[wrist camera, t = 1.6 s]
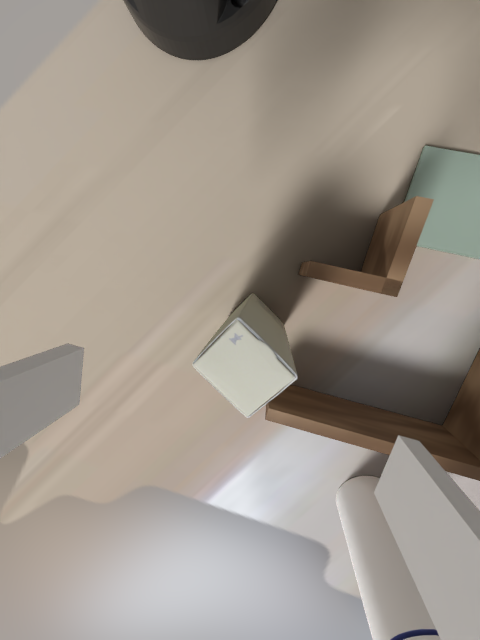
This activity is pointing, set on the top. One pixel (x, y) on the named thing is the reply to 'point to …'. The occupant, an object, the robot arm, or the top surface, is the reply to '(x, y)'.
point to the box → (248, 357)
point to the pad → (449, 200)
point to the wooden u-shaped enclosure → (366, 421)
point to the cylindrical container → (381, 567)
